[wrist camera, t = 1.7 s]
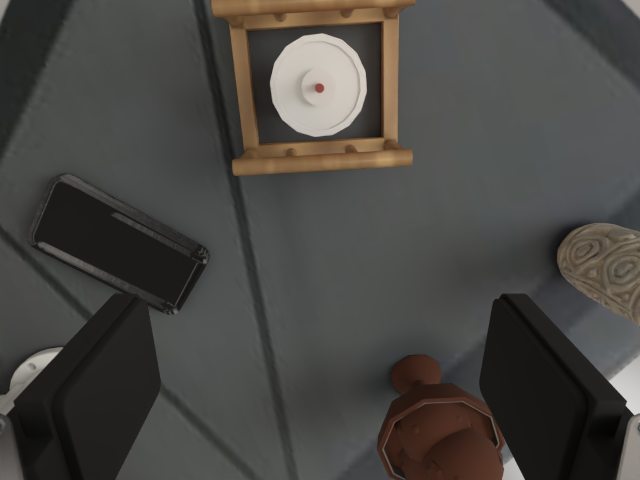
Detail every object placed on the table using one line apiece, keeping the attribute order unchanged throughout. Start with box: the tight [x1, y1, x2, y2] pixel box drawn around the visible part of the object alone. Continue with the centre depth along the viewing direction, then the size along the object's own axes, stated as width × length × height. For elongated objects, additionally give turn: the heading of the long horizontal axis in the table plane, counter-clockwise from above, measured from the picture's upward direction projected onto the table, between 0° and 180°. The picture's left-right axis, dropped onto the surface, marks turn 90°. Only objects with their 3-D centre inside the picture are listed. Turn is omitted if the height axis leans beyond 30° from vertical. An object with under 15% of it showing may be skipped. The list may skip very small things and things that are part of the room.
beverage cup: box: [270, 34, 367, 137], centre depth 28 cm, size 6×6×14 cm
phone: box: [27, 174, 209, 315], centre depth 39 cm, size 8×1×15 cm
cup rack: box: [211, 0, 416, 176], centre depth 31 cm, size 13×12×7 cm
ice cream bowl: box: [377, 355, 505, 480], centre depth 38 cm, size 11×11×15 cm
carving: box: [557, 223, 640, 327], centre depth 35 cm, size 6×8×12 cm
